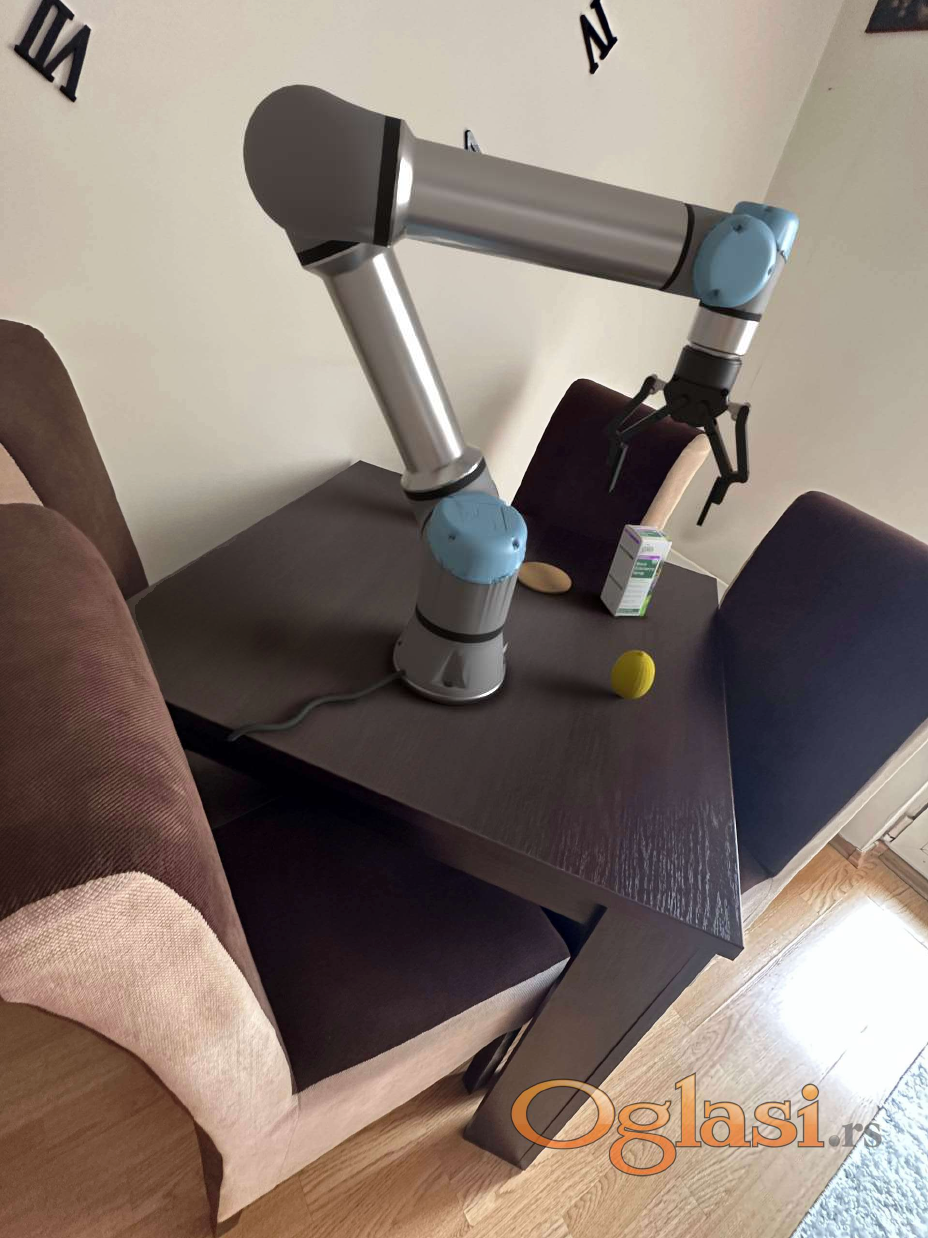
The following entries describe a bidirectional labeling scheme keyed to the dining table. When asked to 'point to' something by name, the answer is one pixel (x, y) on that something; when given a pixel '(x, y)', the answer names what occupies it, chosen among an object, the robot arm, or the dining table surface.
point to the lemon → (632, 674)
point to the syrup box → (635, 570)
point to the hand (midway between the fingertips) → (653, 505)
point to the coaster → (543, 577)
